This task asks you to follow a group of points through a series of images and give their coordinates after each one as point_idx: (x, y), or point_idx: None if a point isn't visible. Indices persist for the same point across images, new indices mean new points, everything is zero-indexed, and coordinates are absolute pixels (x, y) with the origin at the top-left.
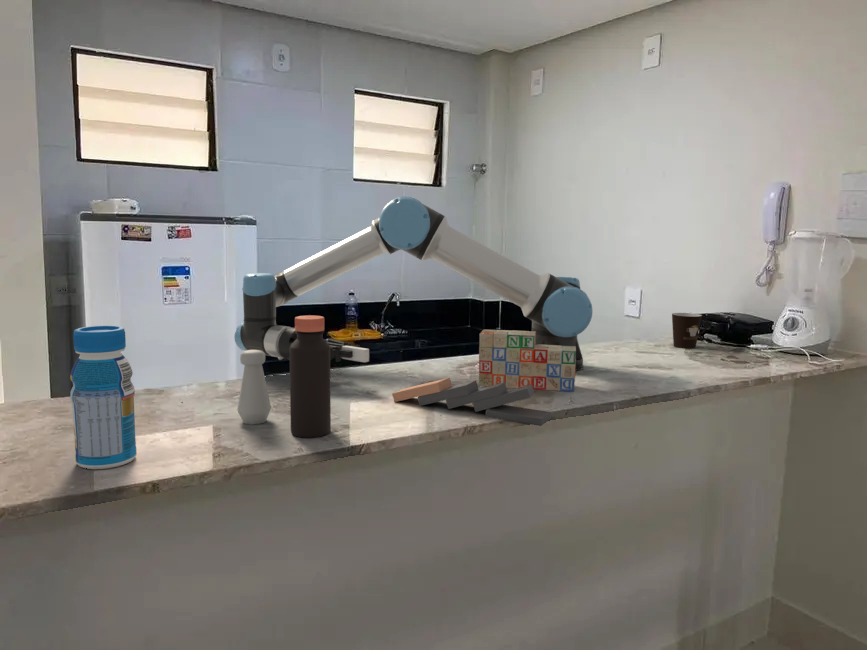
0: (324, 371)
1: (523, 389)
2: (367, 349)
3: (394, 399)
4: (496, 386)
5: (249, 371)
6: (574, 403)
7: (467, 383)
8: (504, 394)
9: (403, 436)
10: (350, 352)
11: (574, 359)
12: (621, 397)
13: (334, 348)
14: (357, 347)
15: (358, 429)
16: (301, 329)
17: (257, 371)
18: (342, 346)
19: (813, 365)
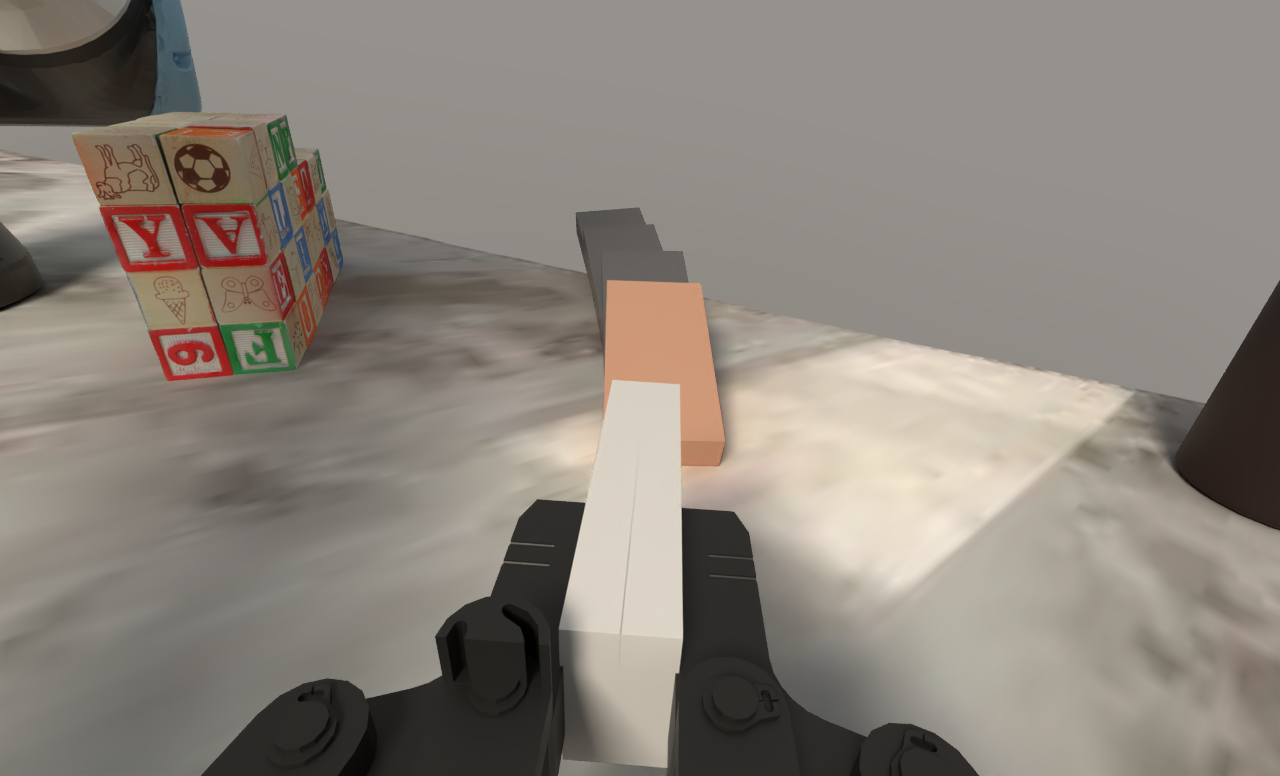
0: None
1: (640, 212)
2: (635, 383)
3: (719, 456)
4: (650, 227)
5: None
6: (461, 256)
7: (639, 258)
8: None
9: (955, 352)
10: (716, 520)
11: (322, 174)
12: (376, 234)
13: (793, 755)
14: (612, 459)
15: (1055, 422)
16: None
17: None
18: (678, 625)
19: (39, 160)
